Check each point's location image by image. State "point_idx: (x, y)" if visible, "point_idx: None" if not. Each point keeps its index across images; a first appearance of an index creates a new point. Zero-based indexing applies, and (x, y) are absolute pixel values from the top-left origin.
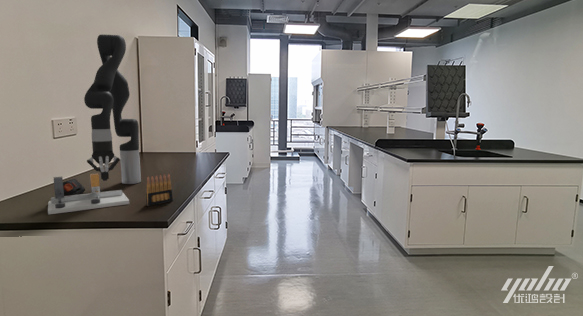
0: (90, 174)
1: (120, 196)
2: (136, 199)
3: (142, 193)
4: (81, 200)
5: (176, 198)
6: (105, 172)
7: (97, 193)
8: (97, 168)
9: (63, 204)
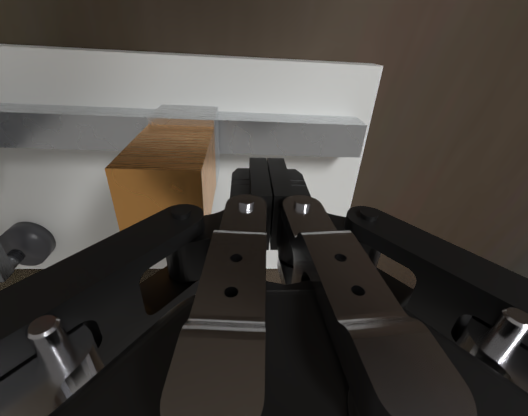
0: (115, 202)
1: (329, 174)
2: (390, 196)
3: (496, 61)
4: (114, 152)
5: (517, 265)
6: (276, 248)
7: None
8: (186, 293)
9: (43, 261)
